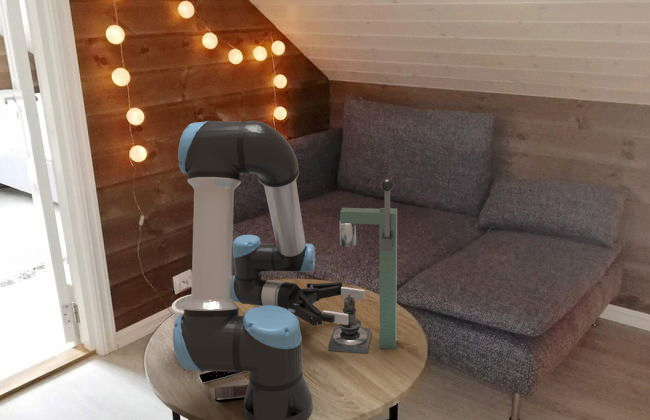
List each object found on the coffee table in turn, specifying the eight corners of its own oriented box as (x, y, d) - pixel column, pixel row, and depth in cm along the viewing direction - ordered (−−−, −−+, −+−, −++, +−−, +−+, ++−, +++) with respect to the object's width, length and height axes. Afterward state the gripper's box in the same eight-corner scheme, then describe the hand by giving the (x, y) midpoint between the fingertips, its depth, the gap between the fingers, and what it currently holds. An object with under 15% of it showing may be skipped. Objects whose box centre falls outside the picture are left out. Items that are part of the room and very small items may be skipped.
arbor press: (394, 355, 145) (395, 181, 130) (328, 350, 148) (322, 179, 133) (397, 334, 155) (398, 169, 140) (334, 330, 158) (329, 168, 143)
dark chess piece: (357, 327, 155) (357, 287, 151) (363, 339, 149) (363, 298, 145) (336, 330, 154) (335, 290, 150) (341, 342, 148) (340, 301, 144)
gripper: (300, 287, 168) (370, 298, 160) (261, 330, 146) (340, 344, 139) (299, 264, 165) (370, 273, 158) (259, 304, 143) (339, 317, 136)
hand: (356, 306), depth 148 cm, fingers open, 13 cm apart
